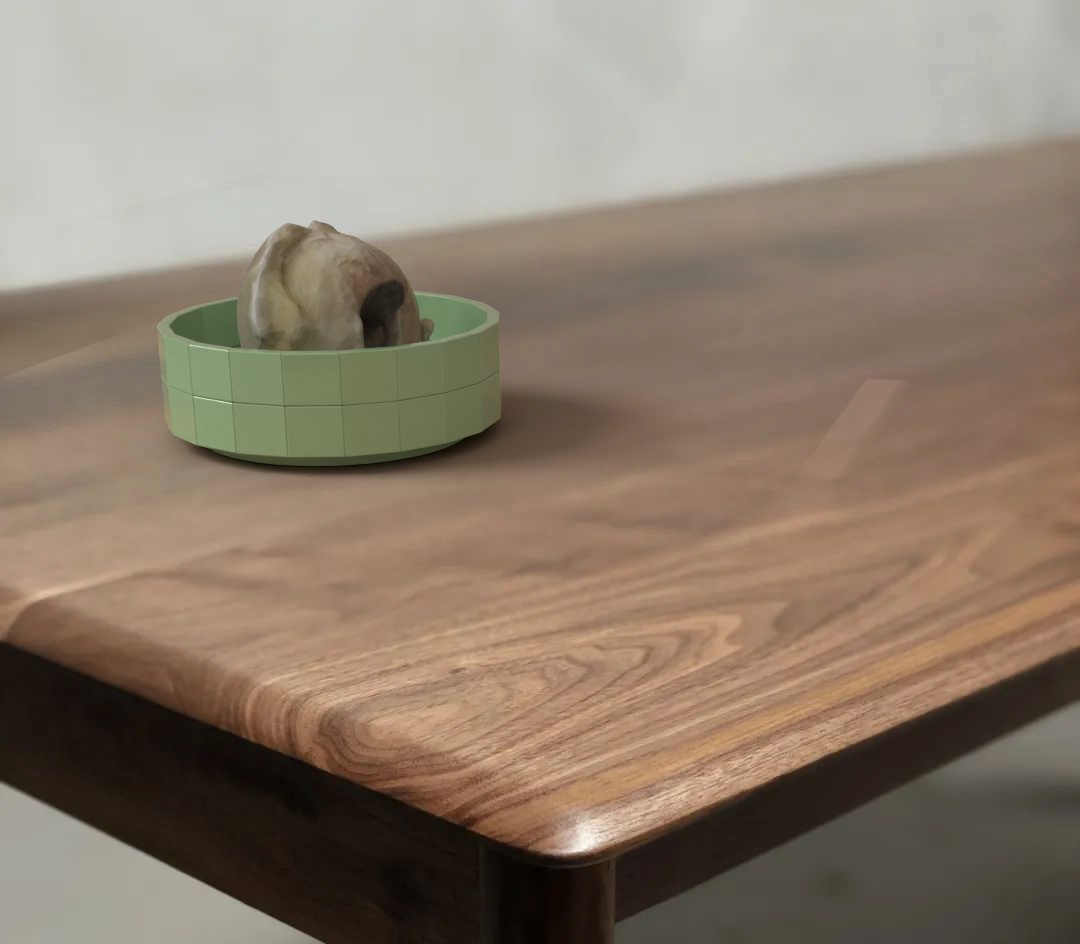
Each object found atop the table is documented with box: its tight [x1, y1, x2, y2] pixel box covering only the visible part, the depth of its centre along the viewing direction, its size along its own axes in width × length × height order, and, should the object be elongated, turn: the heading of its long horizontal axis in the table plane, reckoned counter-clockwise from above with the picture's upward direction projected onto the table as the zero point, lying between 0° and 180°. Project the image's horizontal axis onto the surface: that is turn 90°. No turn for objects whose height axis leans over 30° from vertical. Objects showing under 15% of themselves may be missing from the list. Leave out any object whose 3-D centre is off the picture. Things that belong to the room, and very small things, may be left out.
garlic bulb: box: [237, 219, 434, 351], centre depth 88 cm, size 9×8×10 cm
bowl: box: [156, 290, 503, 467], centre depth 89 cm, size 16×16×6 cm
